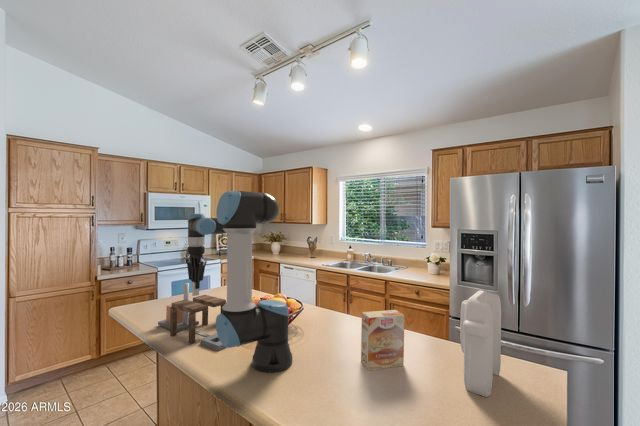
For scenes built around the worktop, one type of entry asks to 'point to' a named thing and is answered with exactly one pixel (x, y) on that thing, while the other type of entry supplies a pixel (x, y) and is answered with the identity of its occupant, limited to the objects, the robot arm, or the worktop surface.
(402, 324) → the coffeecake box
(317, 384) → the worktop surface
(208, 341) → the pit plate
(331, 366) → the worktop surface
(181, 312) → the white lever handle
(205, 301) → the wooden rack
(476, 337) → the white upright slab
